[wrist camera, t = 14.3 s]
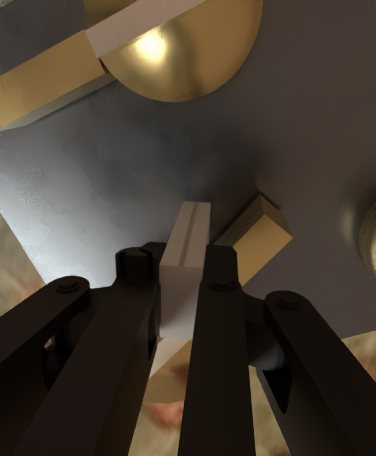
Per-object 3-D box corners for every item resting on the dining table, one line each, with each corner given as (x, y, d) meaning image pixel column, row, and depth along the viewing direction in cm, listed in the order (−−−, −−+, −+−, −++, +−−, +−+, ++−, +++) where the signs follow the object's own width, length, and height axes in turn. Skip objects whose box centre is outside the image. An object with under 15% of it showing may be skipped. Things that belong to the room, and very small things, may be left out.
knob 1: (224, -98, 14) (221, -168, 10) (276, 62, 15) (290, 55, 12) (-18, 46, 16) (-92, 34, 13) (50, 166, 18) (2, 188, 14)
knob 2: (173, 372, 22) (161, 430, 18) (94, 316, 21) (65, 366, 18) (316, 240, 18) (338, 282, 14) (224, 164, 17) (222, 187, 13)
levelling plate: (-61, 67, 19) (-92, 65, 17) (476, -255, 13) (516, -312, 11) (124, 373, 26) (116, 396, 24) (541, 261, 19) (574, 279, 18)
